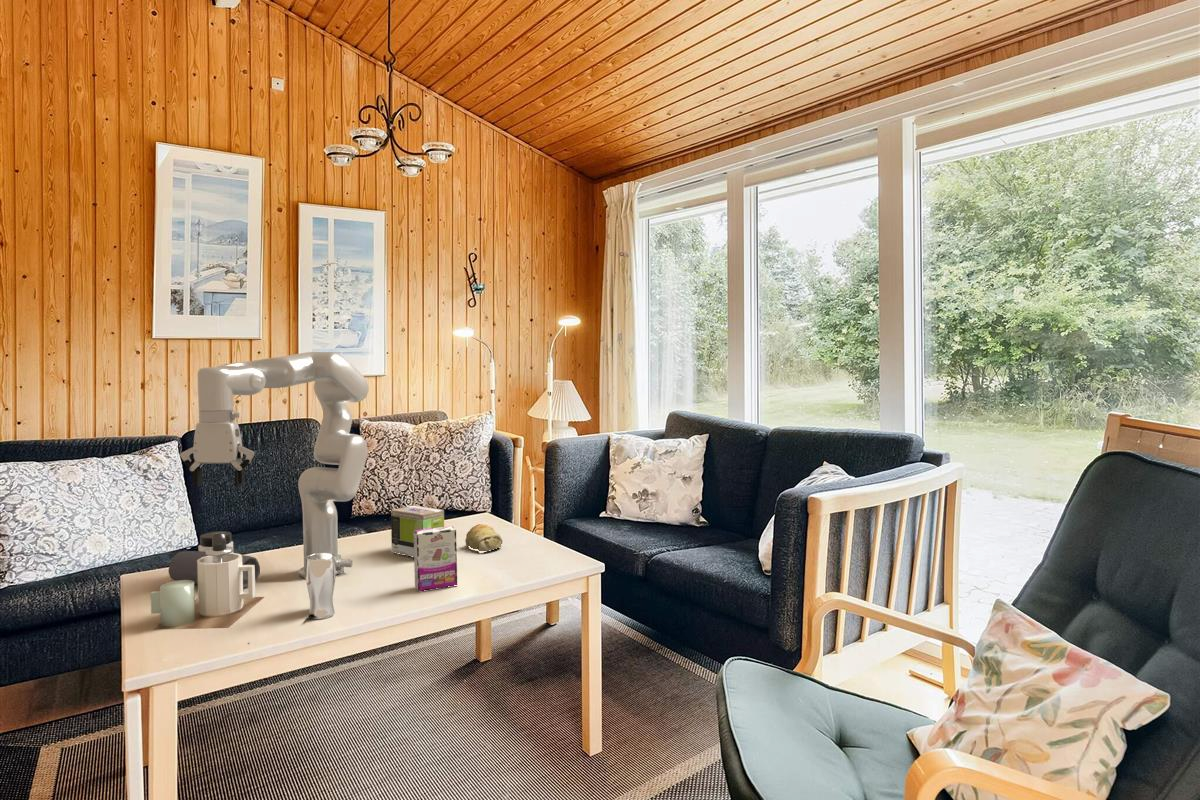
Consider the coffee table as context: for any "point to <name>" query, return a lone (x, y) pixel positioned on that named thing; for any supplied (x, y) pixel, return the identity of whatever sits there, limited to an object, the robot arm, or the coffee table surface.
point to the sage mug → (174, 603)
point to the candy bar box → (435, 558)
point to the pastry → (483, 538)
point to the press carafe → (223, 584)
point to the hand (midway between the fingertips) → (218, 486)
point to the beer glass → (320, 584)
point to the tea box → (412, 525)
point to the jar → (207, 541)
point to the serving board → (216, 621)
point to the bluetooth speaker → (186, 566)
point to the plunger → (219, 546)
